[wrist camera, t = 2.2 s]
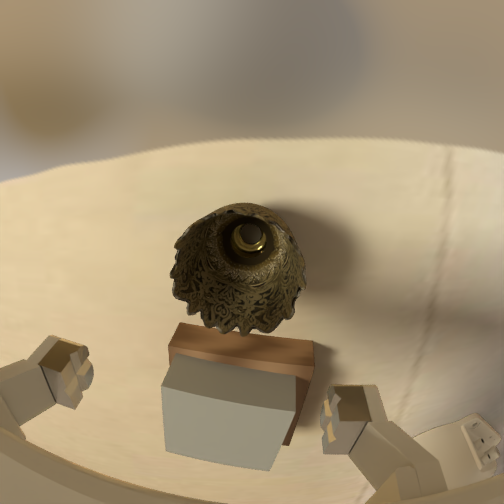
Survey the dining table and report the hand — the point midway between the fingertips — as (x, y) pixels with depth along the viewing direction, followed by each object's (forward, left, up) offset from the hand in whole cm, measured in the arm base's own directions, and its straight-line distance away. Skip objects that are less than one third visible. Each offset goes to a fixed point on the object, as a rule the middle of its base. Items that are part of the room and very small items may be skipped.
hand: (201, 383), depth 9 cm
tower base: (-6, +14, -16) cm, 23 cm away
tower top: (-6, +14, -12) cm, 20 cm away
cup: (0, 0, -16) cm, 16 cm away
